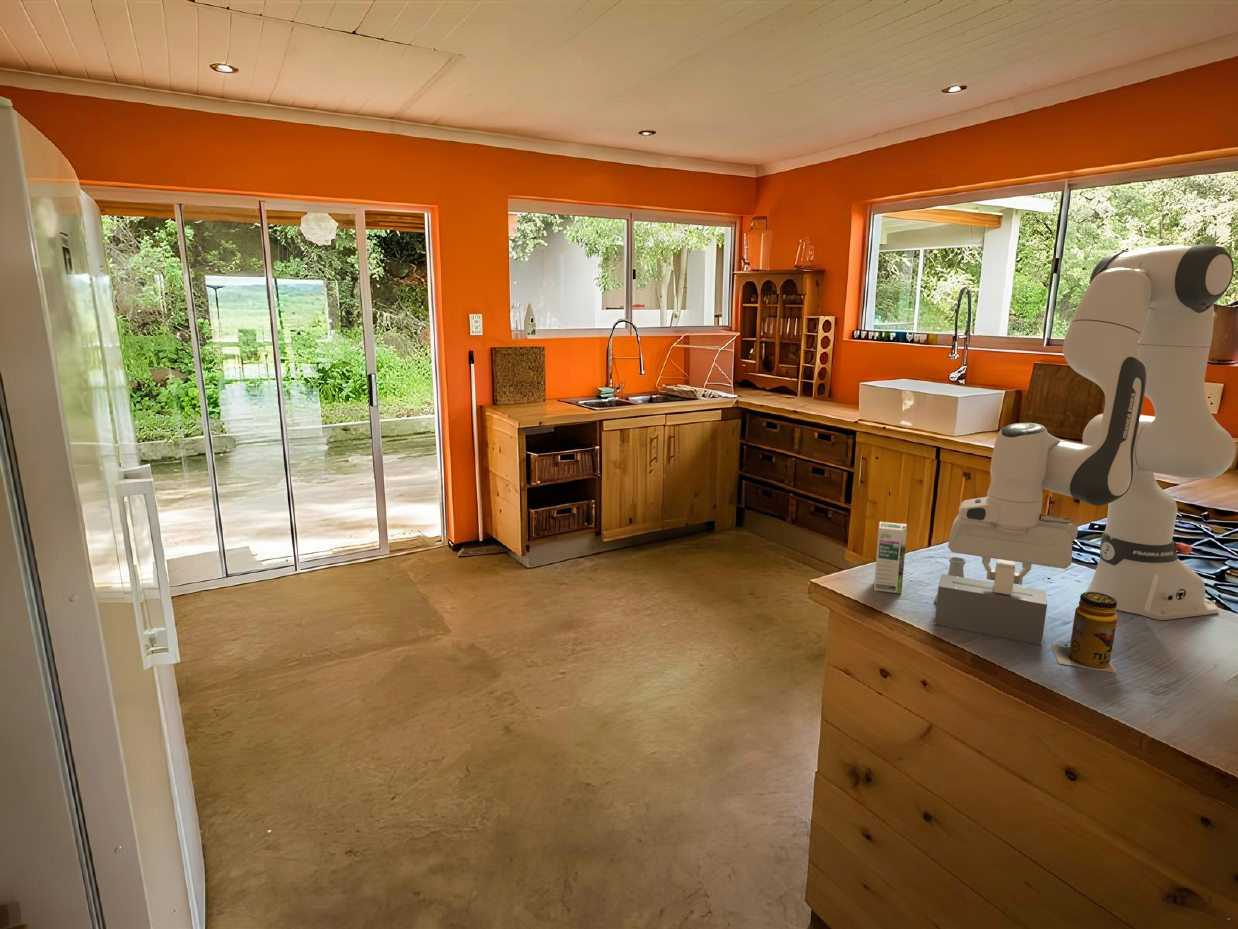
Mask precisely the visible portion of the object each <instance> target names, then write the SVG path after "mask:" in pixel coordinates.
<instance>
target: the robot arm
mask: <svg viewBox="0 0 1238 929" xmlns="http://www.w3.org/2000/svg"><path fill="white" fill-rule="evenodd" d="M1233 260H1234V259H1233V258H1232V256H1231V254H1230V253H1229V252H1228V250H1226V249H1225V248H1224V247H1222V246H1218V245H1214V244H1213V245H1212V244H1203V243H1201V244H1195V245H1181V244H1180V245H1178V244H1177V245H1160V246H1156V247H1149V248H1142V249H1136V250H1132V251H1128V250H1123V251H1117V252H1115V253H1112V254H1109V255H1106V256H1105V257H1103V258H1102V259H1101V260H1100V261H1099V262H1098V263H1097V264H1096V265H1095V266H1094V268H1093V270H1092V272H1091V274H1090V277H1089V285H1088V287H1087V288H1086V290H1085V291H1084V293H1083V295H1082V297H1081V299H1080V301H1079V303H1078V305H1077V306H1076V309H1075V311H1074V313H1073V316H1072V318H1071V320H1070V323H1069V325H1068V328H1067V331H1066V334H1065V336H1064V340H1063V345H1062V354H1063V356H1064V360H1065V361H1066V363H1067V365H1068V366H1069V367H1070V368H1071V369H1072V370H1073V371H1074V372H1075V373H1077V374H1079V375H1080V376H1082V377H1084V378H1086V379H1088V380H1089V381H1091V382H1093V383H1094V384H1096V385H1098V387H1100V389H1101V390H1102V391H1103V394H1104V397H1105V401H1104V402H1105V403H1104V408H1103V413H1100V414H1097V415H1096V416H1094V417H1093V418H1092V419H1091V420H1090V421H1089V422H1088V423H1087V425H1086V426H1085V428H1084V430H1083V433H1082V443H1077V442H1072V441H1070V440H1064V439H1061V438H1059V437H1056V436H1054V435H1052V434H1051V433H1049V432H1048V428H1047V427H1045V426H1044V425H1042V424H1038V423H1034V422H1033V423H1032V422H1018V423H1017V422H1015V423H1011V424H1008V425H1006V426H1003V427H1002V428H1001V429H1000V430H999V432H998V434H997V436H996V439H995V442H994V446H993V449H992V455H991V462H990V469H989V470H990V477H991V479H990V480H991V481H990V482H991V483H990V486H989V488H988V489H987V495H986V496H984V497H982V496H981V497H977V498H970V499H965V500H963V501H962V502H961V503H960V505H959V511H958V512H959V513H958V515H956V517H955V519H954V521H953V523H952V526H951V530H950V533H949V538H948V543H947V544H948V545H947V548H948V549H949V550H950V552H951V553H954V554H962V555H968V556H975V557H980V558H982V559H981V564H982V565H983V566H984V569H985V571H986V580H988V581H989V580H990V581H994V580H995V575H996V568H992V567H991V565H990V563H991V559H994V560H997V559H1001V560H1007V561H1014V562H1015V563H1022V564H1021V565H1022V568H1021V569H1020V571H1019V572H1016V571H1015V575H1014V583H1013V585H1014V584H1015V585H1018V586H1022V585H1023V581H1024V580H1023V578H1024V577H1025V576H1026V575H1027V574H1028V573H1029V572H1030V571H1031V570H1032V565H1036V566H1043V567H1047V568H1048V567H1049V568H1056V569H1062V570H1065V569H1067V568H1069V567H1071V565H1072V559H1073V544H1072V543H1073V542H1074V541H1075V540H1076V539H1077V537H1078V532H1079V527H1078V525H1077V523H1076V522H1075V521H1073V520H1070V518H1069V517H1065V516H1054V515H1047V514H1041V512H1042V503H1043V491H1042V490H1047V491H1049V492H1052V493H1055V494H1060V495H1064V496H1067V497H1071V498H1074V499H1076V500H1079V501H1082V502H1083V503H1087V504H1088V505H1091V506H1095V507H1099V506H1100V507H1101V506H1105V505H1108V508H1107V518H1106V523H1105V524H1106V526H1105V529H1103V531H1102V534H1101V539H1100V545H1099V555H1100V556H1099V560H1098V563H1097V565H1096V569H1095V571H1094V573H1093V574H1094V575H1093V577H1092V579H1091V581H1090V584H1089V586H1088V587H1087V589H1086V591H1085V592H1098V593H1103V594H1106V595H1109V596H1111V597H1113V598H1115V600H1116V601H1117V606H1116V611H1121V612H1126V613H1131V614H1136V615H1141V616H1144V617H1147V618H1149V619H1154V620H1159V621H1167V620H1174V619H1175V620H1176V619H1181V618H1188V617H1189V618H1191V617H1197V616H1205V615H1213V614H1218V612H1219V608H1218V606H1217V604H1216V603H1214V602H1213V601H1211V600H1209V599H1208V598H1207V597H1206V585H1205V582H1204V579H1203V578H1202V577H1201V576H1200V575H1199V574H1198V573H1196V572H1195V571H1194V570H1193V569H1191V568H1190V567H1189V566H1187V564H1185V563H1184V562H1183V561H1182V560H1180V559H1179V557H1178V556H1179V555H1178V553H1181V554H1183V555H1185V556H1187V555H1190V553H1191V552H1192V551H1193V547H1192V546H1191V545H1189V544H1186V543H1184V542H1179V543H1177V542H1176V541H1175V540H1173V537H1174V532H1175V527H1176V526H1175V525H1176V520H1177V514H1178V505H1177V502H1176V500H1175V499H1174V497H1172V495H1170V494H1169V493H1168V492H1167V491H1165V490H1164V489H1162V488H1161V486H1160V485H1159V483H1158V482H1157V480H1156V478H1155V474H1159V475H1165V476H1170V477H1173V478H1174V477H1175V478H1180V479H1190V480H1191V479H1192V480H1194V479H1195V480H1197V479H1198V480H1211V479H1215V478H1217V477H1219V476H1221V475H1223V473H1225V472H1226V471H1227V470H1228V469H1229V468H1230V467H1231V466H1232V464H1233V462H1234V459H1235V458H1236V457H1235V456H1236V444H1235V441H1234V438H1233V437H1232V436H1231V434H1230V433H1229V432H1228V431H1227V430H1226V429H1225V428H1224V427H1222V426H1221V424H1220V423H1219V422H1218V421H1217V420H1216V419H1215V417H1214V416H1213V414H1212V412H1211V410H1210V408H1209V406H1208V403H1207V400H1206V399H1207V398H1206V394H1205V379H1206V372H1207V366H1208V361H1209V356H1210V355H1209V354H1210V351H1211V350H1210V349H1211V348H1210V347H1211V346H1212V341H1213V340H1212V339H1213V333H1214V322H1215V318H1214V317H1215V314H1214V313H1215V309H1214V303H1217V302H1218V301H1219V299H1221V298H1222V297H1223V296H1224V294H1225V293H1226V292H1227V291H1228V289H1229V288H1230V286H1231V283H1232V281H1233V277H1234V273H1235V265H1234V261H1233ZM1144 398H1147V399H1148V400H1149V401H1150V402H1151V404H1152V407H1153V411H1154V415H1146V414H1141V413H1142V408H1143V406H1144V405H1143V404H1144Z"/></svg>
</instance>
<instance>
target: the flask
mask: <svg viewBox="0 0 1238 929" xmlns="http://www.w3.org/2000/svg"><path fill="white" fill-rule="evenodd" d="M948 561H949V569H948V572H947V575H951V576H957V577H964V578H965V574H964V572H965V571H964V566H965V564H966V562H967V560H966V558H964V557H959V556H949V558H948ZM937 596H938V592H937V594H936V595H935V597H934V601H933V602H934V603H935V604H936V605H937Z"/></svg>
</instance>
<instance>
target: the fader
mask: <svg viewBox="0 0 1238 929" xmlns="http://www.w3.org/2000/svg"><path fill="white" fill-rule="evenodd" d="M995 569H996V575H995V580H993V581H994V592H996V593H1003V594H1009V595H1012V591H1013V585H1014V584H1013V583H1014V575H1015V572H1016V562H1014V561H1007V560H1001V559H996V565H995Z"/></svg>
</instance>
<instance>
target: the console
mask: <svg viewBox="0 0 1238 929" xmlns="http://www.w3.org/2000/svg"><path fill="white" fill-rule="evenodd" d="M939 578H940V579H939V583H938V587H937V593H938V596H937V604H936V606H935V607H936V608H935V614H934V615H935V617H934V624H935V623H936V624H939V625H938V626H941V625H944V626H943V627H946V626H951V627H954V628H953V629H956V628H959V629H958V630H963V631H967V630H970V631H969V632H972V631H973V633H979V634H982V633H984V635H987V634H988V636H994V637H1000V638H1005V639H1008V640H1014V641H1019V642H1024V643H1030V644H1035V645H1039V646H1041V645H1042V644H1043V638H1044V637H1043V636H1044V629H1045V623H1046V617H1047V610H1048V600H1047V591H1046V590H1044V589H1039V588H1038V589H1037V588H1032V587H1031V588H1030V587H1026V586H1021V585H1014V584H1013V591H1012V595H1009V594H1003V593H996V592H994V582H993V581H989V580H988V581H987V580H981V579H976V578H969V577H965V576H964V577H957V576H951V575H948V574H944V573H941V574H940V577H939ZM936 624H935V625H936ZM951 627H950V628H951Z"/></svg>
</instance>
